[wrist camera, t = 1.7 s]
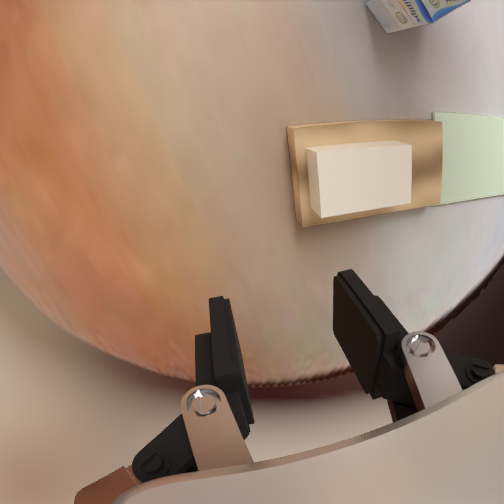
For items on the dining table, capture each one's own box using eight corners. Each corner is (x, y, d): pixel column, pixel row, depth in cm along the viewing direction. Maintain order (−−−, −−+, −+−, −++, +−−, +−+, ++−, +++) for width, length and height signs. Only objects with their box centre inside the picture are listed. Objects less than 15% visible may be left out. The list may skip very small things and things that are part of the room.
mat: (432, 111, 30) (434, 112, 30) (511, 119, 31) (513, 119, 31) (431, 204, 35) (433, 205, 35) (507, 192, 37) (509, 193, 36)
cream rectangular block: (305, 147, 28) (316, 152, 25) (395, 140, 29) (411, 144, 26) (310, 207, 31) (321, 218, 28) (395, 194, 31) (410, 203, 29)
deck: (286, 126, 29) (293, 128, 27) (429, 119, 30) (442, 122, 28) (296, 219, 34) (302, 228, 32) (428, 197, 35) (440, 204, 33)
